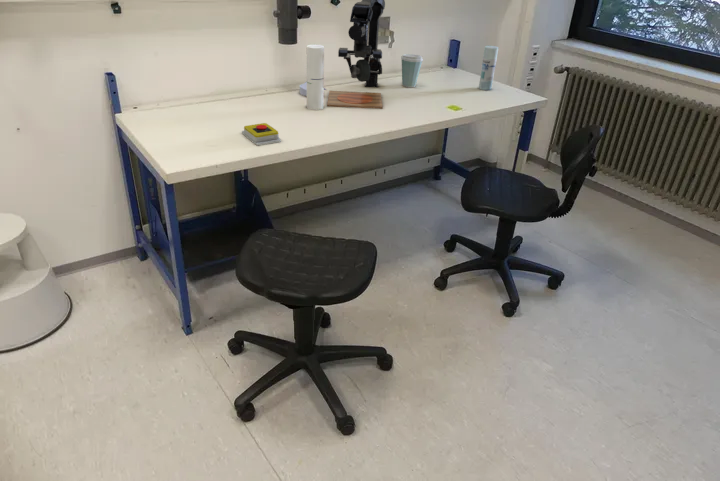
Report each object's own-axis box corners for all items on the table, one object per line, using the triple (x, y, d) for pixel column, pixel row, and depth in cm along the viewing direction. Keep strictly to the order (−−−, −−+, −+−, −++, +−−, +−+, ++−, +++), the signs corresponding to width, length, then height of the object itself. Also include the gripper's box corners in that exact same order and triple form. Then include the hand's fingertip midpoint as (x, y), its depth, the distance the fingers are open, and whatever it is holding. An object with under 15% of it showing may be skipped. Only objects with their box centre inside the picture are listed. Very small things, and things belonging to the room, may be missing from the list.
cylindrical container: (320, 110, 226) (321, 48, 213) (304, 108, 227) (304, 47, 214) (325, 105, 232) (326, 45, 219) (309, 104, 233) (309, 43, 220)
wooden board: (329, 92, 250) (329, 90, 249) (380, 94, 250) (380, 92, 250) (327, 106, 231) (327, 104, 230) (382, 108, 232) (382, 106, 231)
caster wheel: (372, 85, 232) (357, 73, 243) (374, 63, 226) (359, 51, 237) (360, 86, 230) (346, 74, 241) (362, 63, 224) (347, 52, 235)
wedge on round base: (326, 97, 243) (313, 89, 252) (327, 82, 239) (313, 75, 249) (309, 99, 239) (296, 91, 248) (309, 84, 235) (296, 77, 244)
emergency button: (256, 133, 185) (240, 121, 196) (257, 145, 188) (241, 132, 198) (281, 130, 190) (263, 117, 200) (281, 141, 192) (264, 129, 203)
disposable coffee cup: (395, 83, 269) (398, 52, 261) (415, 82, 272) (418, 52, 264) (403, 89, 260) (406, 57, 253) (423, 88, 263) (427, 56, 256)
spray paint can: (475, 87, 269) (482, 45, 259) (486, 86, 272) (493, 45, 262) (483, 90, 264) (490, 48, 254) (494, 89, 267) (501, 48, 257)
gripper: (338, 38, 220) (337, 77, 228) (383, 40, 220) (381, 79, 228) (339, 33, 229) (338, 70, 237) (382, 35, 230) (380, 72, 238)
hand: (359, 73), depth 235 cm, fingers closed on caster wheel, 7 cm apart
